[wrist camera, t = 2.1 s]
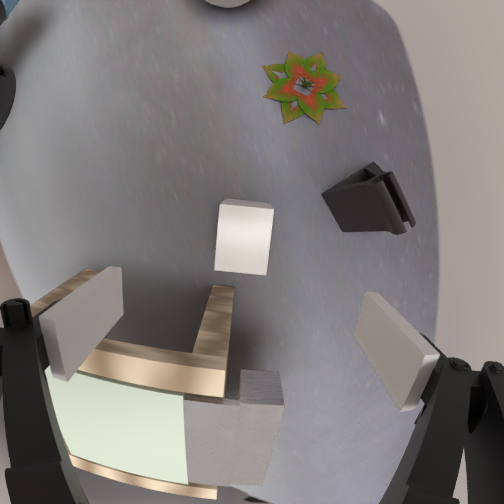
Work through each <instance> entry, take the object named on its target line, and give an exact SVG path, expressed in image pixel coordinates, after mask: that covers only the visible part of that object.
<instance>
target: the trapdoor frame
mask: <svg viewBox="0 0 504 504" xmlns="http://www.w3.org/2000/svg"><path fill="white" fill-rule="evenodd" d="M100 272H101V271H98V270H91V269H85V270H83V271H82V272H80V273H79V274H77V275H76V276H74V277H72V278H71V279H69V280H68V281H66V282H65V283H63V284H62V285H60V286H59V287H57V288H55V289H54V290H52V291H51V292H49V293H48V294H46V295H45V296H43V297H42V298H40V299H39V300H38V301H36V302H35V303H33V304H32V305H30V309H31V315H32V317H34V316H35V315H36V314H38V313H39V312H40V311H43V309H45V308H46V307H48V306H49V305H50V304H51V303H53V302H54V301H57V300H59V299H62V298H64V297H66V296H67V295H69V294H70V293H71V292H73V291H74V290H76V289H77V288H78V287H80V286H81V285H83V284H84V283H85V282H87V281H88V280H90V279H91V278H93V277H94V276H96V275H97V274H98V273H100ZM234 288H235V287H228V286H219V285H213V287H212V290H211V293H210V296H209V300H208V303H207V306H206V309H205V313H204V316H203V319H202V322H201V326H200V329H199V332H198V336H197V339H196V342H195V346H194V349H193V352H192V353H187V352H180V351H173V350H166V349H160V348H154V347H148V346H142V345H136V344H131V343H126V342H121V341H116V340H111V339H106V338H103V339H102V340H101V342H100V343H99V344H98V345H97V346H96V348H95V349H94V350H93V351H92V353H91V354H90V355H89V356H88V357H87V359H86V360H85V361H84V362H83V364H82V365H81V366H80V367H79V369H78V370H81V371H84V372H88V373H92V374H95V375H99V376H103V377H107V378H111V379H116V380H120V381H124V382H129V383H134V384H139V385H144V386H149V387H154V388H160V389H165V390H172V391H178V392H185V393H192V394H199V395H205V397H211V398H220V399H225V388H226V376H227V364H228V353H229V341H230V330H231V319H232V309H233V298H234ZM61 434H62V433H61ZM62 437H63V435H62ZM63 440H64V443H65V446H66V448H67V451H68V454H69V457H70V459H71V462H72V465H73V466H75V467H78V468H81V469H83V470H86V471H89V472H92V473H95V474H98V475H101V476H104V477H107V478H110V479H114V480H117V481H121V482H124V483H128V484H132V485H136V486H140V487H144V488H148V489H153V490H158V491H162V492H168V493H174V494H179V495H185V496H192V497H200V498H208V499H216V496H217V485H207V484H199V483H192V482H188V484H182V483H176V482H170V481H165V480H160V479H155V478H150V477H146V476H141V475H137V474H133V473H129V472H126V471H122V470H118V469H115V468H111V467H108V466H105V465H101V464H98V463H95V462H92V461H89V460H86V459H84V458H81V457H78V456H75V455H73V454H71V452H70V450H69V448H68V446H67V444H66V442H65V439H64V437H63Z"/></svg>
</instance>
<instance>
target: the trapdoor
mask: <svg viewBox="0 0 504 504" xmlns="http://www.w3.org/2000/svg"><path fill="white" fill-rule="evenodd" d="M45 373H46V377H47V381H48V386H49V390H50V394H51V398H52V402H53V406H54V410H55V413H56V417H57V420H58V424H59V427H60V430H61V433H62V435H63V437H64V439H65V442H66V444H67V446H68V448H69V450H70V452H71V454H73V455H75V456H78V457H81V458H84V459H86V460H89V461H92V462H95V463H98V464H101V465H105V466H108V467H111V468H115V469H118V470H122V471H126V472H129V473H133V474H137V475H141V476H146V477H150V478H155V479H160V480H165V481H170V482H176V483H182V484H188V482H192V483H199V484H207V485H217V486H230V484H235V485H256V486H263V483H264V480H265V477H266V473H267V470H268V466H269V463H270V459H271V455H272V452H273V448H274V444H275V441H276V437H277V433H278V429H279V425H280V421H281V417H282V413H283V409H284V400H283V394H282V387H281V381H280V374H279V372H274V371H258V370H244V369H241V372H240V381H239V390H238V399H237V400H231V399H220V398H211V397H203V396H195V395H188V394H185V392H178V391H172V390H165V389H160V388H154V387H149V386H144V385H139V384H134V383H129V382H124V381H120V380H116V379H111V378H107V377H103V376H99V375H95V374H92V373H88V372H84V371H81V370H77V371H76V372H75V374H74V375H73V376H72V377H71V379H70V380H69V381H68V382H65V381H62V380H59V379H56V378H54V377H53V376H52V373H51V369H50V365H49V366H48V368H47V369H46V370H45Z"/></svg>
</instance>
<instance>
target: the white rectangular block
mask: <svg viewBox="0 0 504 504" xmlns="http://www.w3.org/2000/svg"><path fill="white" fill-rule="evenodd" d="M273 214H274V209H273V208H272V207H271V206H270V204H269V203H266V202H256V201H247V200H237V199H227V198H226V199H225V200H224V201H223V202H222V203H220V208H219V219H218V230H217V242H216V255H215V267H214V270H217V271H227V272H237V273H247V274H257V275H266V272H267V264H268V256H269V248H270V239H271V231H272V223H273Z"/></svg>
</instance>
